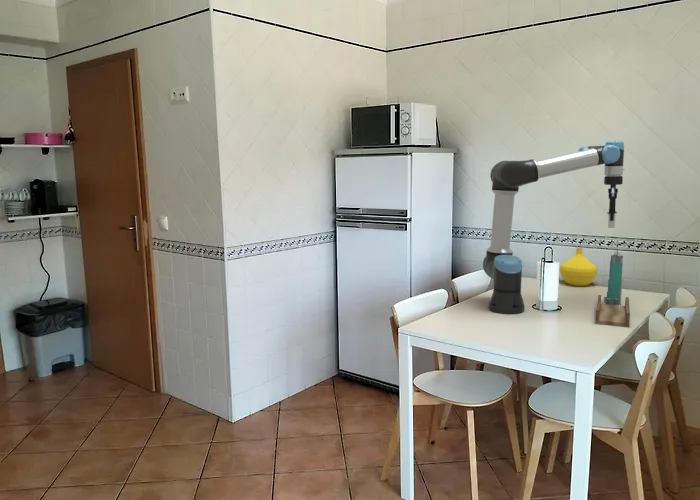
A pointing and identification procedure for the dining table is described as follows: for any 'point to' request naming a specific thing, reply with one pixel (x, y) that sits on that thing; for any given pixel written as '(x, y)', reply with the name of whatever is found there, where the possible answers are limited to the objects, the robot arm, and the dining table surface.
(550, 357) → the dining table surface
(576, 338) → the dining table surface
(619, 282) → the building
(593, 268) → the vase
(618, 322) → the tray
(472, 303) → the dining table surface
